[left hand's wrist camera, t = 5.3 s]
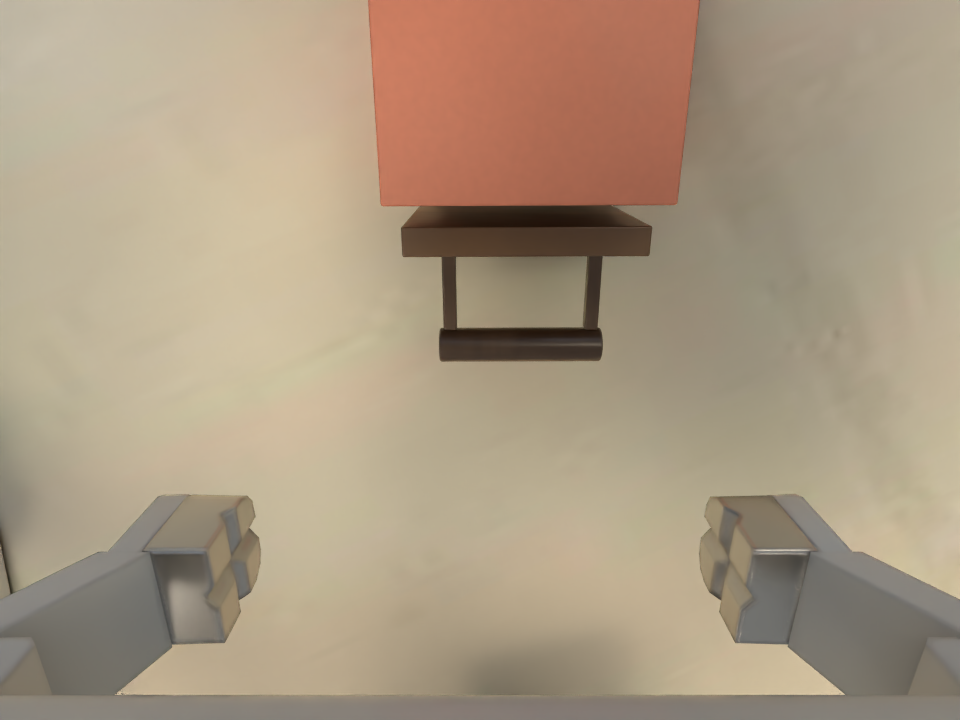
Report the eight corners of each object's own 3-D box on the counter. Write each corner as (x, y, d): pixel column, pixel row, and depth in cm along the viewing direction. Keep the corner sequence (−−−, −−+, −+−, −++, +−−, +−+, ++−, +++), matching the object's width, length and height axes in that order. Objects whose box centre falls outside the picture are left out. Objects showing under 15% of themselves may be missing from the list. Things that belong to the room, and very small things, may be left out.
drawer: (600, 323, 33) (637, 379, 26) (425, 323, 33) (408, 380, 26) (640, -235, 25) (714, -406, 17) (403, -234, 25) (368, -404, 17)
